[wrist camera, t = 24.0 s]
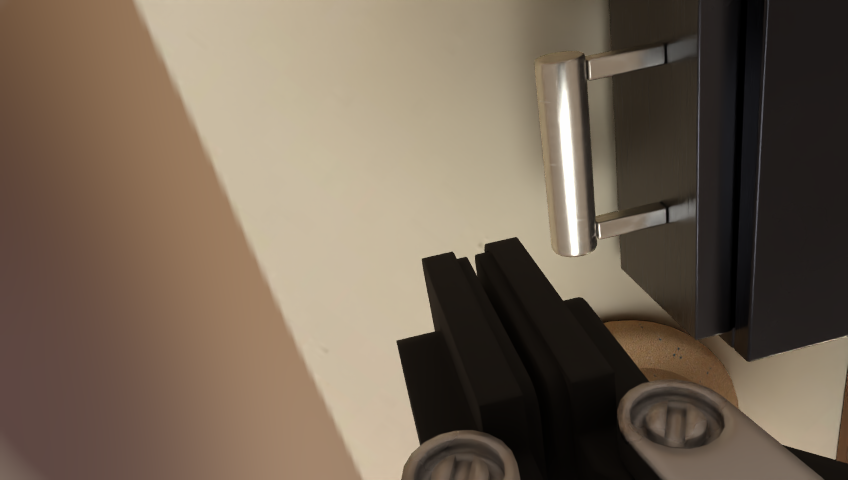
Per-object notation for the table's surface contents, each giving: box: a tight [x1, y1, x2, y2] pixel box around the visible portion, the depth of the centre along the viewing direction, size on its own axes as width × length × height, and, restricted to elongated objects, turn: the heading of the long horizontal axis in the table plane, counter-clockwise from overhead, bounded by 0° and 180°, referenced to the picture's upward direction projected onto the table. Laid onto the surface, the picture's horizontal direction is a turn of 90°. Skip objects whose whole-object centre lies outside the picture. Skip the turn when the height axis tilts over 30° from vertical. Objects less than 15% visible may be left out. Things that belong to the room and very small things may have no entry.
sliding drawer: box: [534, 0, 747, 340], centre depth 21 cm, size 13×12×5 cm
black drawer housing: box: [719, 0, 848, 362], centre depth 21 cm, size 11×14×7 cm
